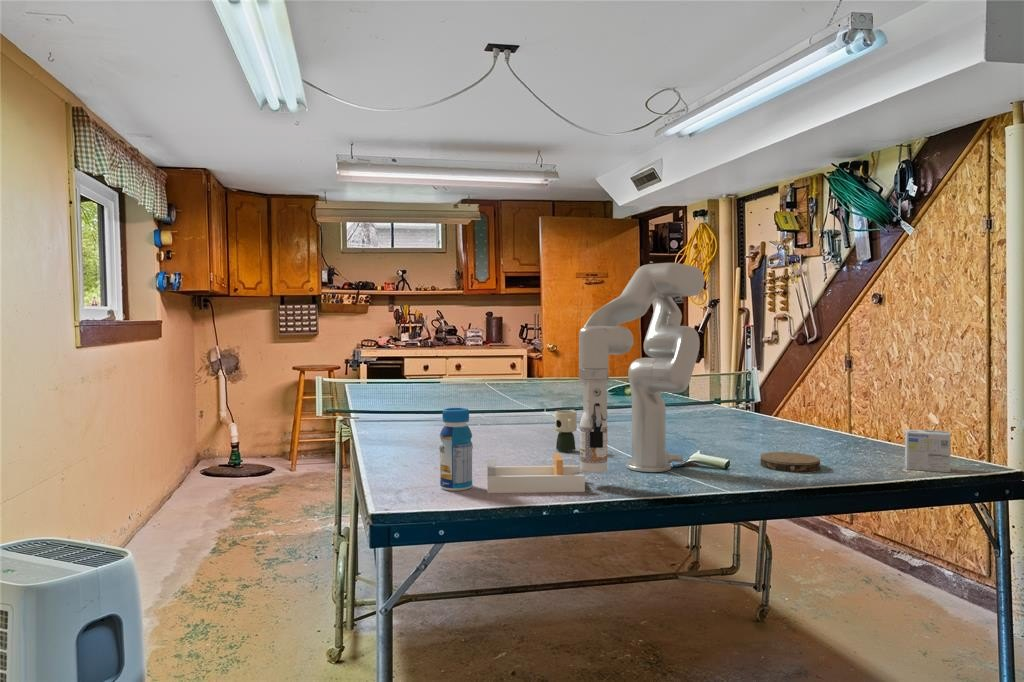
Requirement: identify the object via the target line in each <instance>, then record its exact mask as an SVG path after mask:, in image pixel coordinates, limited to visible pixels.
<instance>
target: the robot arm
mask: <svg viewBox="0 0 1024 682" xmlns="http://www.w3.org/2000/svg"><path fill="white" fill-rule="evenodd" d="M704 287H705V275H704V273H703V271H702V270H701V269H700V268H699V267H697V266H694V265H691V264H690V265H688V264H685V263H684V264H683V263H679V262H660V263H659V262H658V263H648V264H644V265H641V266H640V267H638V268H637V270H635V272H634V273H633V275H632V276H631V278H630V280H629V281H628V282H627V284H626V286H625V288H624V289H623V290H622V293H621V294H620V295H619V296H618V297H616V298H614V299H612V300H610V301H608V303H606V304H604V305H603V306H601V307H599V308H598V309H597V310H596V311H595V312H593V313H592V315H590V317H589V318H588V320H587V321H586V323H584V325H583V327H581V328H580V330H579V332H578V381H579V382H583V383H582V388H583V389H582V404H583V406H582V407H583V408H582V409H583V410H582V412H583V413H584V412H586V416H587V419H588V420H589V421H590V424H591V432H590V447H591V448H602V447H603V429H602V418H603V419H604V421H607V420H608V398H607V396H608V395H607V386H606V382H610V381H609V380H610V379H609V377H610V375H609V374H610V373H609V368H610V367H609V366H610V365H609V363H610V360H609V355H616V356H617V355H618V356H620V355H624V354H627V353H628V352H629V351H630V350H631V349H632V348H633V345H634V334H633V333H632V331H631V330H630V329H628V328H627V327H625V326H622V325H623V324H625V323H628V322H632V321H635V320H637V319H640V318H642V317H643V316H644V315H645V314H646V313H647V312H648V310H649V308H650V307H651V305H652V308H653V309H652V310H653V313H652V315H651V319H650V323H649V325H648V329H647V331H646V335H645V338H644V341H643V351H644V353H645V355H647V356H648V357H640V358H637V359H635V360H633V361H632V362H631V363H630V365H629V367H628V370H627V371H628V372H627V374H628V376H627V377H628V382H629V388H630V393H631V394H630V395H631V396H630V397H631V460H628V461H627V462H626V468H628V470H632V471H635V472H642V473H643V472H644V473H660V472H661V473H662V472H668V471H670V470H671V469H672V464H671V463H673V462H675V463H680V462H682V463H683V460H684V458H683V457H684V456H683V454H671V453H669V452H667V450H666V448H667V447H666V446H667V445H666V444H667V443H666V442H667V436H666V433H667V427H666V422H667V418H666V415H667V413H666V412H667V408H666V402H664V399H663V396H662V395H661V393H670V394H671V393H672V394H680V393H683V392H685V391H686V390H687V389H688V388H689V387H688V386H689V385H690V382H691V379H692V375H693V373H694V369H695V366H696V364H697V363H696V362H697V359H698V355H699V351H700V346H701V345H700V342H701V341H700V336H699V333H698V331H697V330H696V329H695V328H694V327H692V326H687V325H681V323H682V319H683V315H682V311H681V309H680V308H679V306H678V304H676V302H675V301H674V299H673V297H693V296H698V295H699V294H701V292H702V291H703V290H704ZM596 392H597V393H596ZM601 415H602V417H601ZM592 418H596V419H592ZM593 423H594V424H593ZM593 425H594V426H593ZM669 463H670V464H671V465H669Z"/></svg>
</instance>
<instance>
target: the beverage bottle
mask: <svg viewBox="0 0 1024 682" xmlns="http://www.w3.org/2000/svg"><path fill="white" fill-rule="evenodd" d="M469 421H470V410H469V408H466V407H448V408H447V407H446V408H443V409H442V423H444V425H443V427H442V429H441V431H440V433H439V439H440V443H439V447H438V448H439V455H440V456H439V459H440V461H439V464H440V465H439V467H440V468H439V470H440V471H439V472H440V477H439V478H440V480H439V485H440V488H441V489H442V490H445V491H451V492H452V491H453V492H454V491H455V492H457V491H466V490H469V489H471V488H472V487H473V447H474V446H473V442H472V438H473V433H472V431H471V429H470V427H469V425H468V423H469Z"/></svg>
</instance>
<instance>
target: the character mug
mask: <svg viewBox="0 0 1024 682" xmlns="http://www.w3.org/2000/svg"><path fill="white" fill-rule="evenodd" d="M577 412H578V411H575V410H571V409H570V410H567V409H562V410H555V411H554V431H555V432H558V434H557V438H556V447H555V450H556V451H559V452H566V453H568V452H569V451H575V450H576V441H575V435H574V433H575V432H576V431H577V430H578V429H577V428H578V421H577V420H578V418H577V417H578V416H577V415H578V414H577Z"/></svg>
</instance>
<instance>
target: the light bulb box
mask: <svg viewBox="0 0 1024 682" xmlns="http://www.w3.org/2000/svg"><path fill="white" fill-rule="evenodd" d="M951 453H952V452H951V433H949V432H948V431H947V430H930V429H929V430H928V429H911V428H910V429H909V428H905V429H904V467H905V469H906V470H908V471H909V470H911V471H924V472H935V473H936V472H938V473H951V464H952V463H951V462H952V461H951Z"/></svg>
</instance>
